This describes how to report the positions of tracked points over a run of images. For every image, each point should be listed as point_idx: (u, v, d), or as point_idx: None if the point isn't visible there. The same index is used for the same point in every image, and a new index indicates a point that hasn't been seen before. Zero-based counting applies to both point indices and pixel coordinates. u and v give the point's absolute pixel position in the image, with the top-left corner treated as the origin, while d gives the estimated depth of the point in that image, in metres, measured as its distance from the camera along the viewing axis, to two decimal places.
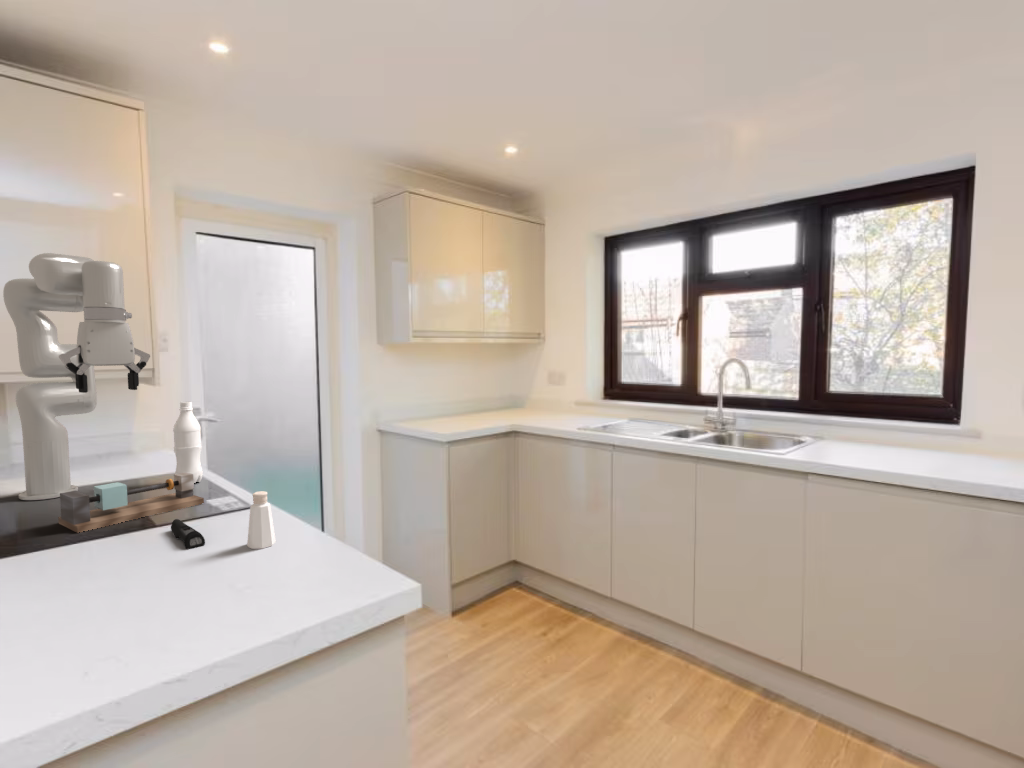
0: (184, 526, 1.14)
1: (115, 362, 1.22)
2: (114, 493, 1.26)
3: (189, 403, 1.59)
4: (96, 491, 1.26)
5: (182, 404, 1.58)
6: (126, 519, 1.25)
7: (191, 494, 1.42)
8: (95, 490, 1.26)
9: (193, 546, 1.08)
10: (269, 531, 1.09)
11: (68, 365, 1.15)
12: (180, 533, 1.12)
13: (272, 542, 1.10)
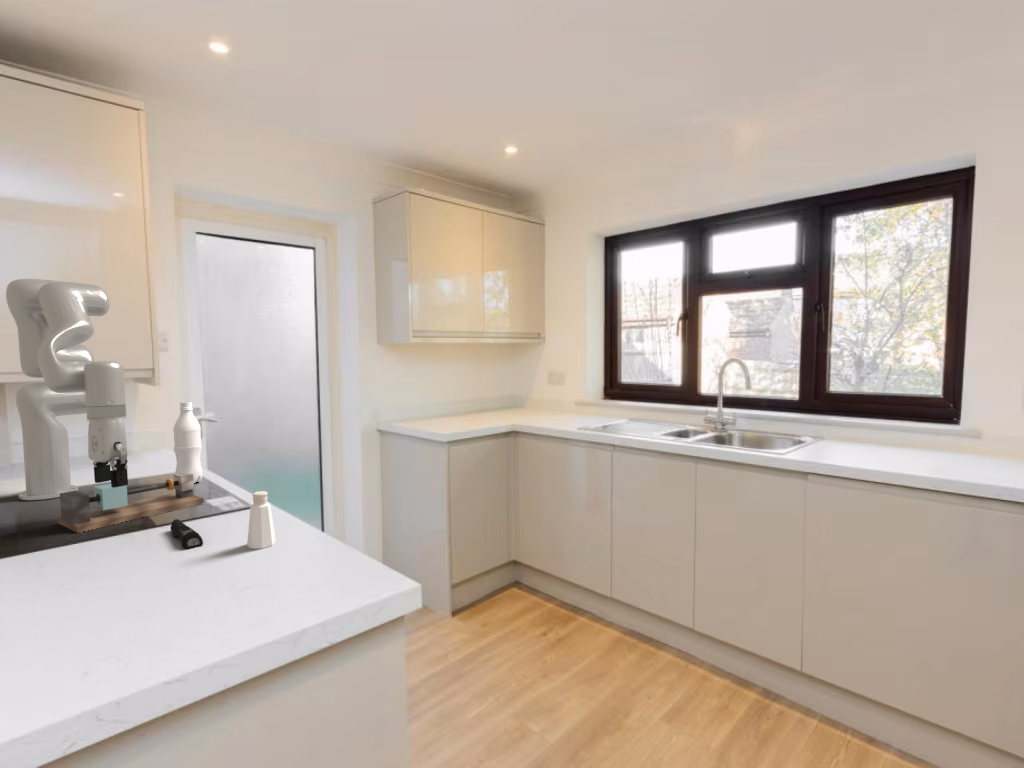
0: (183, 526, 1.14)
1: None
2: (114, 493, 1.26)
3: (189, 403, 1.59)
4: (96, 491, 1.26)
5: (182, 404, 1.58)
6: (126, 519, 1.25)
7: (191, 494, 1.42)
8: (95, 490, 1.26)
9: (191, 547, 1.08)
10: (269, 531, 1.09)
11: (126, 460, 1.23)
12: (179, 533, 1.12)
13: (272, 542, 1.10)
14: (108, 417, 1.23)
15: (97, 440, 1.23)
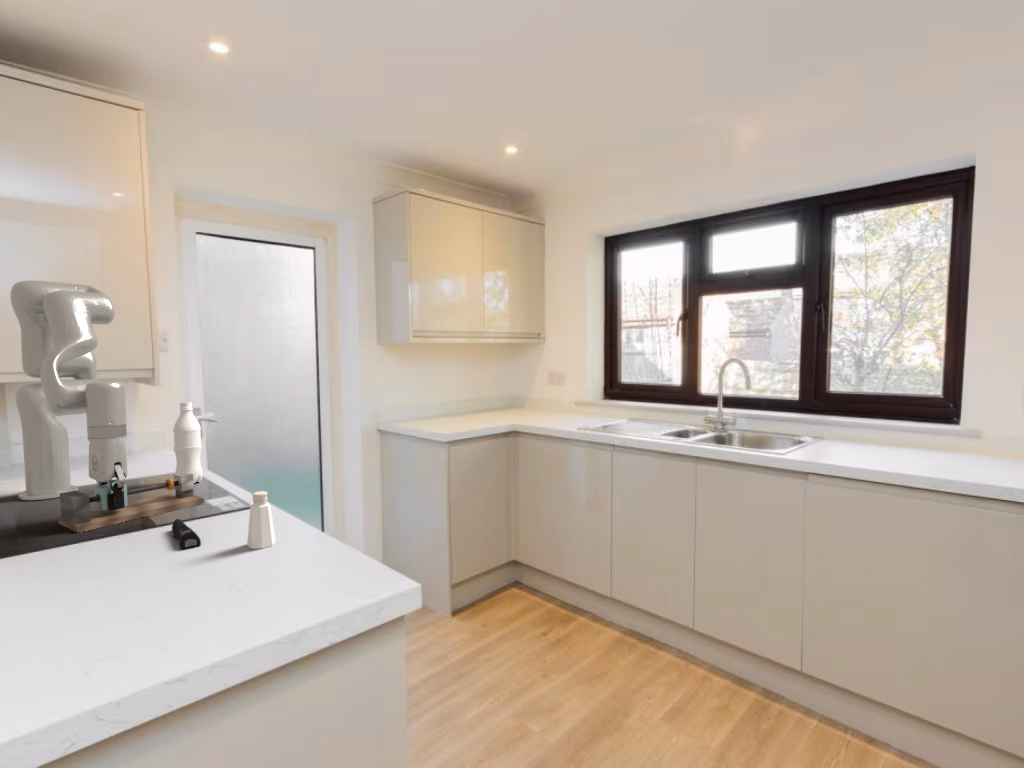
0: (183, 526, 1.14)
1: None
2: None
3: (189, 403, 1.59)
4: (96, 491, 1.26)
5: (182, 404, 1.58)
6: (126, 519, 1.25)
7: (191, 494, 1.42)
8: (95, 490, 1.26)
9: (188, 547, 1.08)
10: (269, 531, 1.09)
11: (123, 484, 1.25)
12: (178, 533, 1.12)
13: (272, 542, 1.10)
14: (109, 437, 1.24)
15: (97, 460, 1.24)
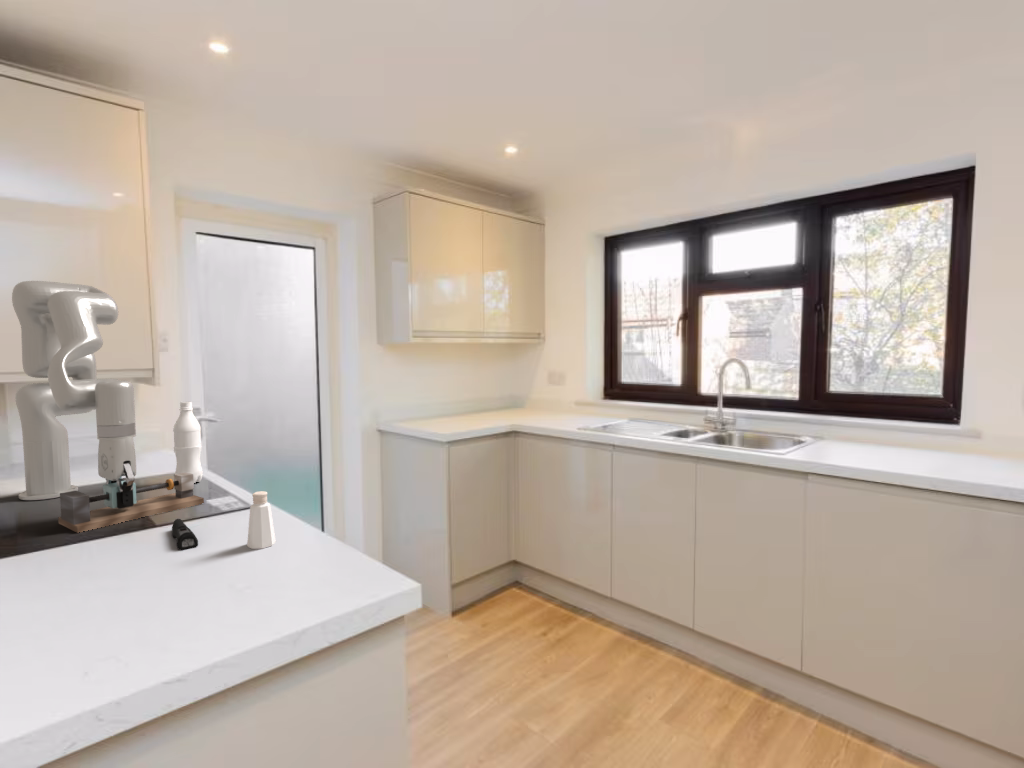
0: (181, 526, 1.14)
1: None
2: None
3: (189, 403, 1.59)
4: (105, 489, 1.27)
5: (182, 404, 1.58)
6: (126, 519, 1.25)
7: (191, 494, 1.42)
8: (104, 488, 1.28)
9: (185, 547, 1.08)
10: (269, 531, 1.09)
11: (132, 483, 1.27)
12: (176, 533, 1.12)
13: (272, 542, 1.10)
14: (118, 436, 1.25)
15: (107, 459, 1.25)
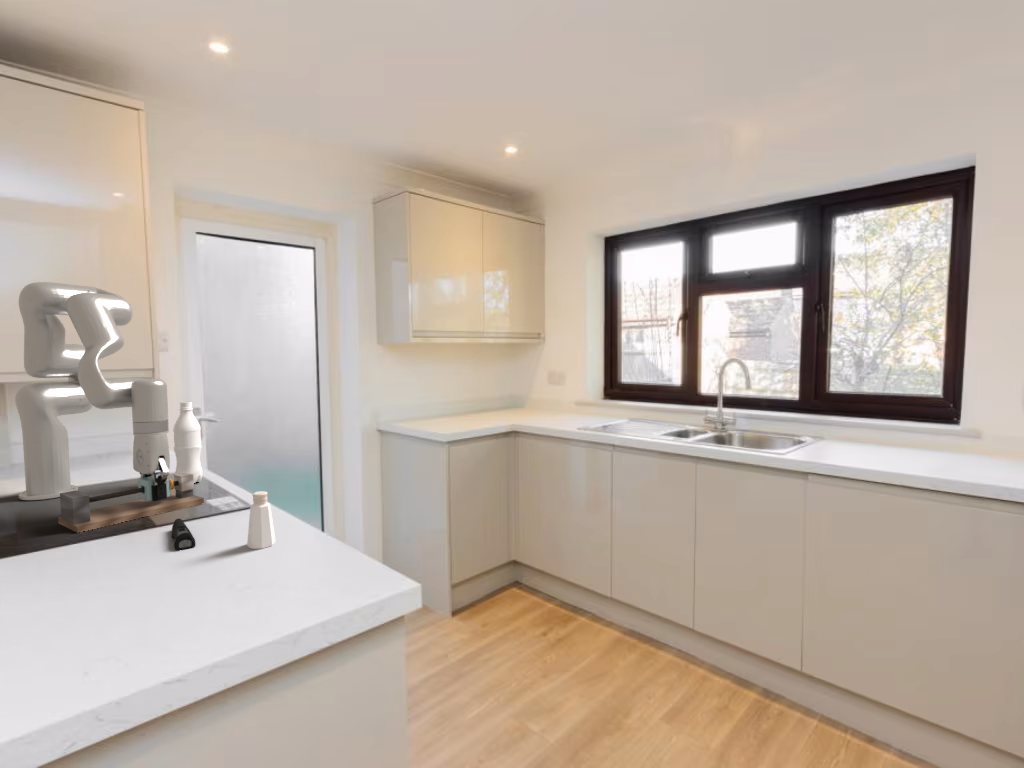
0: (180, 527, 1.14)
1: None
2: None
3: (189, 403, 1.59)
4: (141, 483, 1.34)
5: (182, 404, 1.58)
6: (126, 519, 1.25)
7: (191, 494, 1.42)
8: (139, 482, 1.34)
9: (182, 548, 1.07)
10: (269, 531, 1.09)
11: None
12: (174, 534, 1.11)
13: (272, 542, 1.10)
14: (153, 432, 1.32)
15: (143, 453, 1.31)
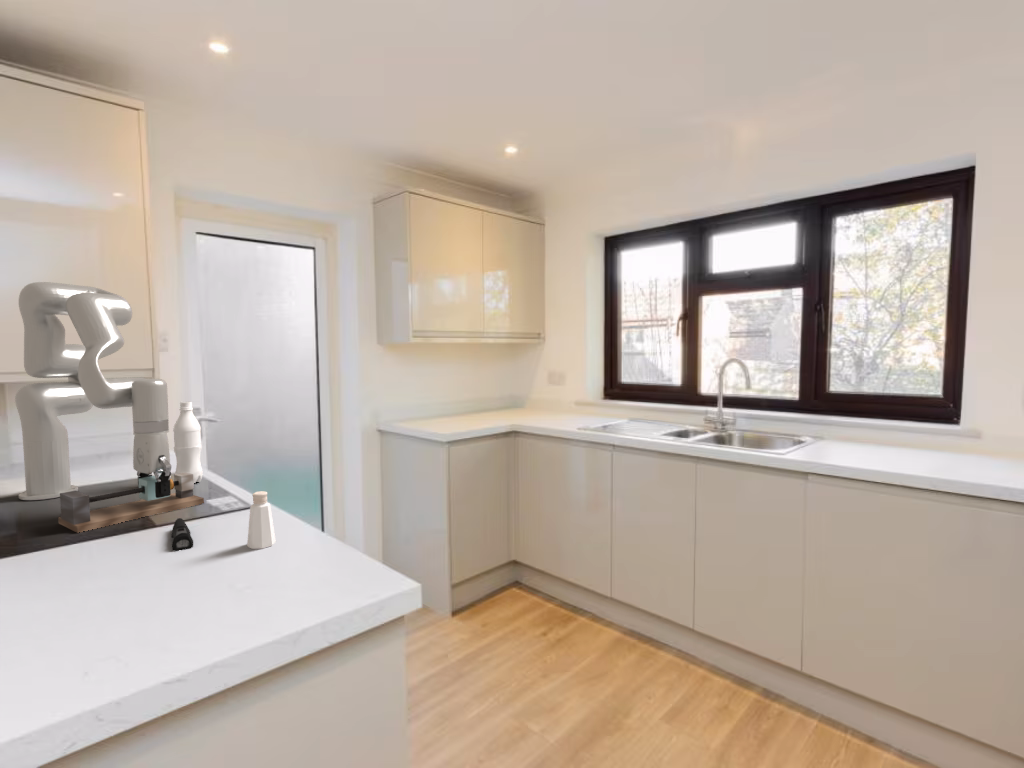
0: (180, 526, 1.14)
1: None
2: None
3: (189, 403, 1.59)
4: (141, 483, 1.34)
5: (182, 404, 1.58)
6: (126, 519, 1.25)
7: (191, 494, 1.42)
8: (140, 482, 1.34)
9: (180, 548, 1.07)
10: (269, 531, 1.09)
11: None
12: (173, 534, 1.11)
13: (272, 542, 1.10)
14: (153, 432, 1.32)
15: (143, 453, 1.31)
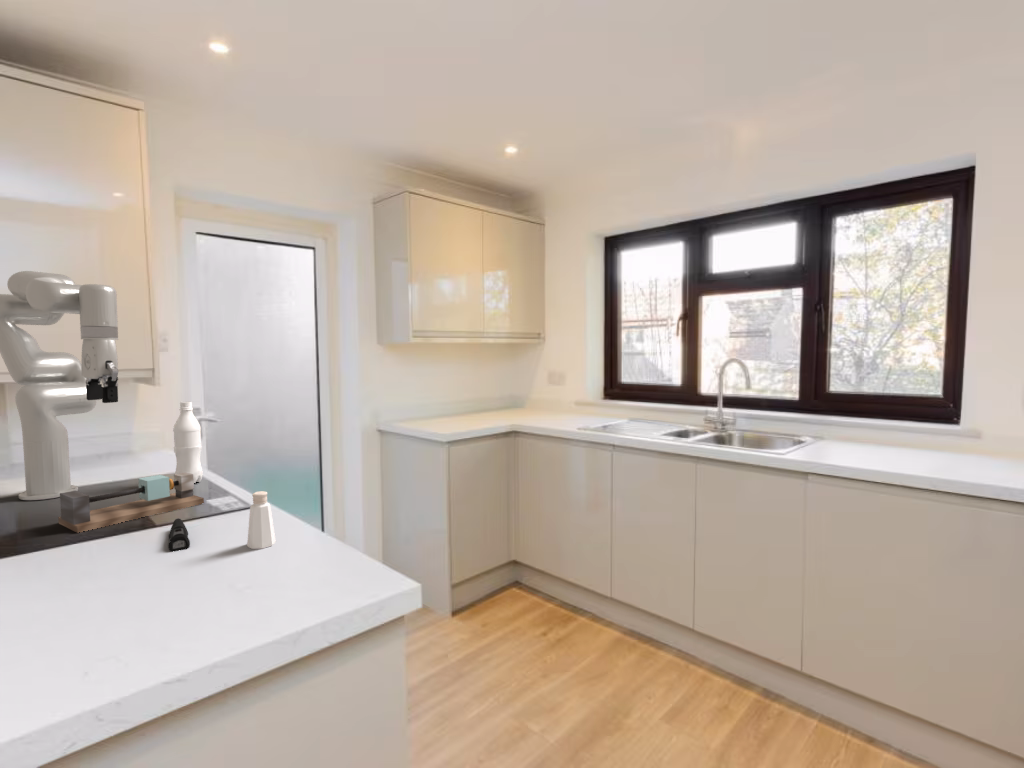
0: (177, 527, 1.14)
1: None
2: (158, 485, 1.34)
3: (189, 403, 1.59)
4: (141, 483, 1.34)
5: (182, 404, 1.58)
6: (126, 519, 1.25)
7: (191, 494, 1.42)
8: (140, 482, 1.34)
9: (176, 549, 1.07)
10: (269, 531, 1.09)
11: (117, 378, 1.32)
12: (170, 534, 1.11)
13: (272, 542, 1.10)
14: (101, 337, 1.31)
15: (90, 358, 1.31)
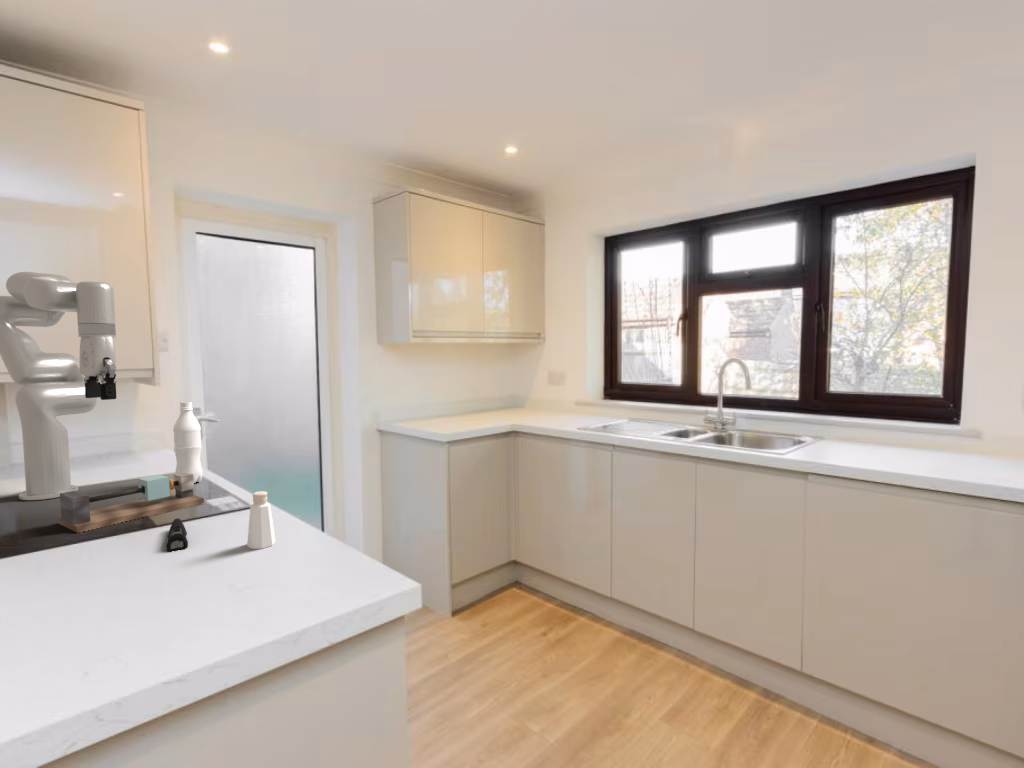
0: (176, 527, 1.14)
1: None
2: (158, 485, 1.34)
3: (189, 403, 1.59)
4: (141, 483, 1.34)
5: (182, 404, 1.58)
6: (126, 519, 1.25)
7: (191, 494, 1.42)
8: (140, 482, 1.34)
9: (174, 549, 1.07)
10: (269, 531, 1.09)
11: (115, 375, 1.31)
12: (169, 534, 1.11)
13: (272, 542, 1.10)
14: (98, 334, 1.31)
15: (88, 355, 1.31)
